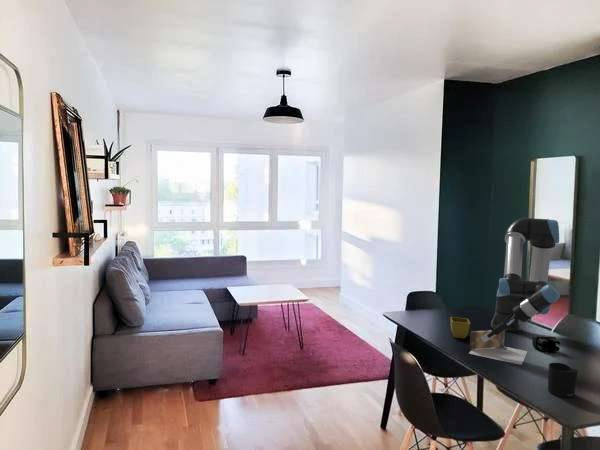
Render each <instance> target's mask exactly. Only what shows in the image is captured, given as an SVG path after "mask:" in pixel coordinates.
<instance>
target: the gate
mask: <svg viewBox="0 0 600 450" xmlns="http://www.w3.org/2000/svg"><path fill="white" fill-rule="evenodd" d="M489 331H491V329H489V330H471V331H470V337H469V349H470V350H473V349H484V348H498V347H504V346H505V336H506V331H505V330H503V331H502V332H500V333H499V335H495V336H494V337H492V338H491V339H489V340H488V341H486V342H485V343H484V341H483V340H482V339H481V337H482V336H483V335H485V334H486V333H488V332H489Z"/></svg>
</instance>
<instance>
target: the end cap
mask: <svg viewBox="0 0 600 450" xmlns="http://www.w3.org/2000/svg"><path fill="white" fill-rule="evenodd" d="M531 344H532V348H533V349H534V350H536V351H538V352H539V353H543V354H549V355H551V354H554V355H555V354H557V353H560V352H559V351H560V345H561V341H560V340H559V339H557V338H556V336H533V338H532V340H531ZM558 345H559V346H558Z"/></svg>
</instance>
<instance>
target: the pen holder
mask: <svg viewBox="0 0 600 450" xmlns="http://www.w3.org/2000/svg"><path fill="white" fill-rule="evenodd" d="M578 370H579V369H577V368H572V367H570V366H568V364H566V363H563V362H562V363H561V362H550V363H548V375H547V376H548V379H547V390H548V392H549V393H550V394H551V395H554V396H556V397H559V398H562V399H563V398H565V399H572V398H574V397H575V393H576V386H577V379H578V378H577V377H578V372H579V371H578Z"/></svg>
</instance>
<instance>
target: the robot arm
mask: <svg viewBox="0 0 600 450" xmlns="http://www.w3.org/2000/svg"><path fill="white" fill-rule="evenodd" d="M559 228H560V225H559V222H558V220H555V219H549V218H546V219H545V218H533V217H532V218H529V217H521V218H518V219H517V220H515V221H513V222H512V223H510V225H509V226H508V227H507V228H506V231H505V233H504V242H505V243H506V246H505V259H504V270H503V277H500V278H499V280H498V288H497V291H496V303H495V312H494V315H493V318H492V319H491V322H490V326H491V328H490V330H491V331H489V332H488V333H486V334H485V335H483V336H482V337H481V339H482V340H483V341H484V343H485V342H486V341H488V340H489V339H491V338H492V337H494V336H495V335H499V333H500V332H502V331H503V330H505V332H511V333H513V332H514V333H517V332H520V331H521V329H522V326H521V323H526V322H527V321H529V320H530V319H531V318H533V317H535V316H538V315H547V314H549V311H550V310H551V306H552V304H554V303H555V304H556V302H557V301H558V300H559V299H560V298H561V295H560V292H558V290H557V289H556V288H555V287H554V286H553V285H551V284H550V283H549V282H548V281H549V279H548V278H549V273H550V263H551V256H552V255H551V254H552V249H554V248H555V247H556V245H557V244H559V243H560V229H559ZM526 241H528V242H529V244H530V246H531V247H532V253H531V261H530V271H529V279H528V280H523V279H522V274H523V273H522V272H523V271H522V268H523V252H524V248H523V247H524V243H525V242H526ZM520 321H521V322H520Z"/></svg>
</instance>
